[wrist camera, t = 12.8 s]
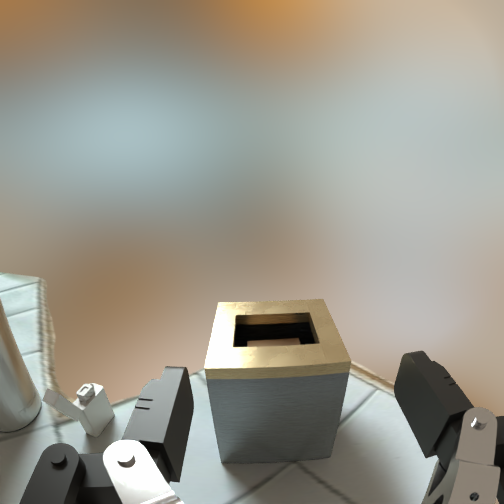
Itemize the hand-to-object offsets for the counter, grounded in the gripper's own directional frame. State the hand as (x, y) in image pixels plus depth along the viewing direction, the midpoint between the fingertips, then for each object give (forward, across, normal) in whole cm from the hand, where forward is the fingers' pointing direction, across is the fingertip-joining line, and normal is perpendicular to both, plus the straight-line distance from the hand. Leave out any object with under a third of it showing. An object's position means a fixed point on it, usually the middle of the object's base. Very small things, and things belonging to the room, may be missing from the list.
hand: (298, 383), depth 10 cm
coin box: (+13, 0, +18) cm, 22 cm away
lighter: (+10, +19, +18) cm, 28 cm away
